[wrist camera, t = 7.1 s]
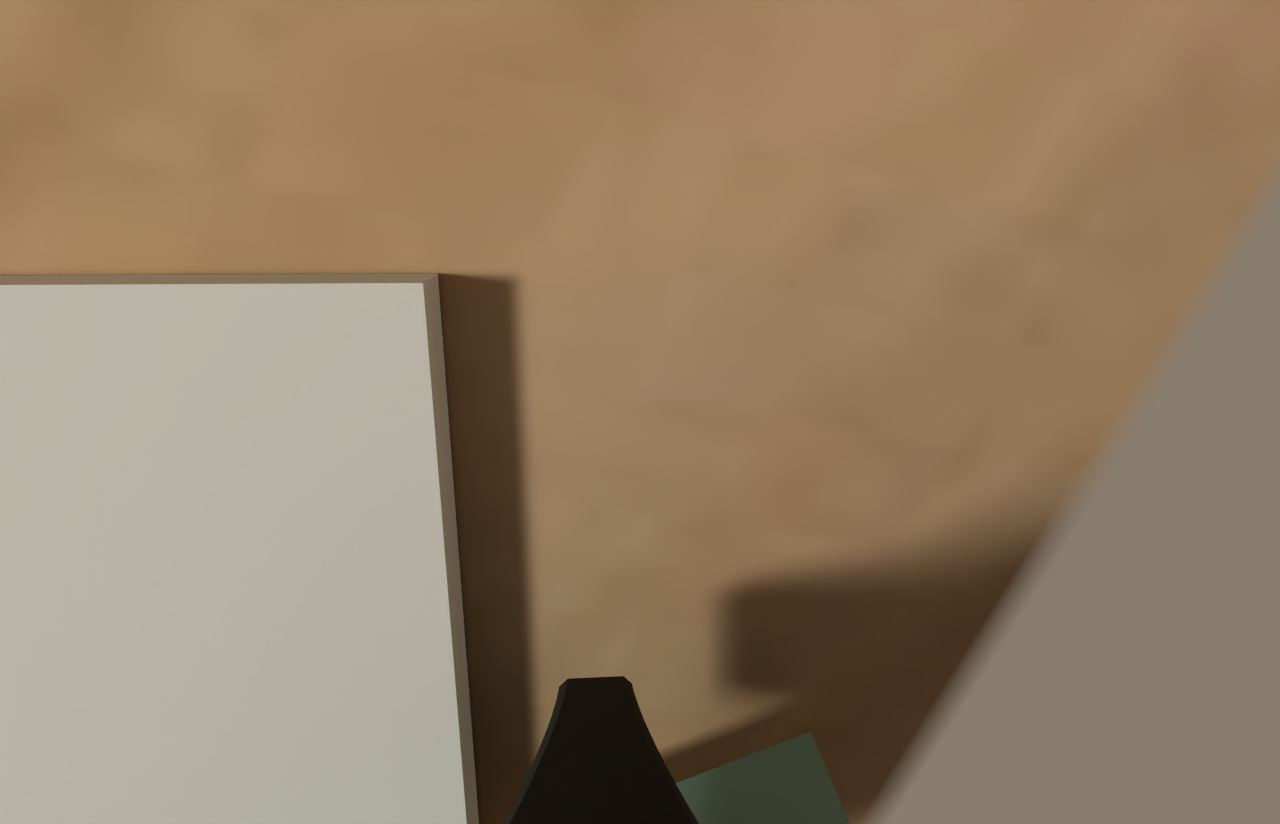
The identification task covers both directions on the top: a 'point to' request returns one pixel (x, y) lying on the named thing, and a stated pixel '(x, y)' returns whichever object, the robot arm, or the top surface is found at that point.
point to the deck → (229, 553)
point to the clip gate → (767, 788)
